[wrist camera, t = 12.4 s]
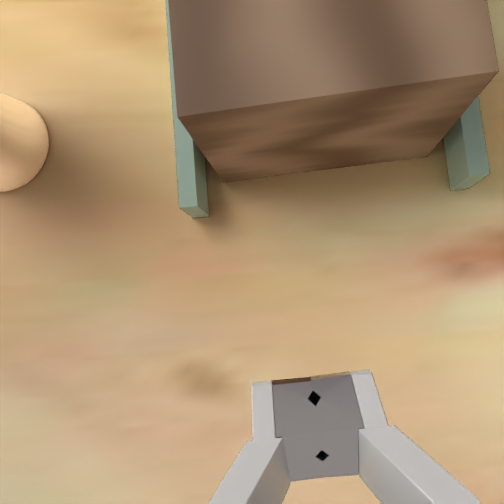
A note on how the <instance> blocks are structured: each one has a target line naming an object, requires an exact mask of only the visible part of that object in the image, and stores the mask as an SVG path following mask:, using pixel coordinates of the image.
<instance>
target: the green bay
mask: <svg viewBox="0 0 504 504" xmlns="http://www.w3.org/2000/svg"><path fill="white" fill-rule="evenodd" d="M165 1H166V16H167V31H168V46H169V61H170V77H171V92H172V107H173V122H174V137H175V152H176V167H177V183H178V198H179V208H180V209H181V210H183V211H184V212H186V213H187V214H188V215H190V216H191V217H192V218H197V217H206V216H209V208H208V195H207V181H206V168H205V156H204V154H203V153H202V151H201V150H200V149H199V147H198V146H197V144H196V143H195V141H194V140H193V139H192V137H191V136H190V134H189V133H188V131H187V130H186V129H185V127H184V126H183V124H182V123H181V121H180V120H179V119H178V117H177V108H176V95H175V82H174V69H173V56H172V43H171V31H170V18H169V5H168V0H165ZM443 141H444V148H445V155H446V162H447V169H448V177H449V184H450V190H459V189H468V188H470V187H472V186H473V185H474V184H476V183H477V182H479V181H480V180H482V179H483V178H484V177H486V176H487V175H489V174H490V171H489V164H488V158H487V151H486V144H485V138H484V131H483V124H482V118H481V111H480V104H479V98H478V96H477V98H476V99H475V100H474V101H473V102H472V104H471V105H470V106H469V107H468V108H467V110H466V111H465V112H464V113H463V114H462V116H461V117H460V118H459V119H458V120H457V122H456V123H455V124H454V125H453V126H452V128H451V129H450V130H449V131H448V132H447V134H446V135H445V136H444V137H443Z"/></svg>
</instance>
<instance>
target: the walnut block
mask: <svg viewBox="0 0 504 504" xmlns="http://www.w3.org/2000/svg"><path fill="white" fill-rule="evenodd" d="M168 5H169V18H170V31H171V43H172V56H173V69H174V82H175V95H176V108H177V117H178V119H179V120H180V121H181V123H182V124H183V126H184V127H185V129H186V130H187V131H188V133H189V134H190V136H191V137H192V139H193V140H194V141H195V143H196V144H197V146H198V147H199V149H200V150H201V151H202V153H203V154H204V156H205V157H206V159H207V160H208V161H209V163H210V164H211V166H212V167H213V169H214V170H215V171H216V173H217V174H218V176H219V177H220V179H221V180H222V181H223V182H228V181H236V180H244V179H252V178H260V177H268V176H276V175H284V174H292V173H300V172H308V171H316V170H324V169H332V168H340V167H348V166H356V165H364V164H372V163H380V162H388V161H396V160H405V159H413V158H421V157H427V156H428V155H429V154H430V153H431V151H432V150H433V149H434V148H435V147H436V145H437V144H438V143H439V142H440V141H441V139H442V138H443V137H444V136H445V135H446V134H447V132H448V131H449V130H450V129H451V128H452V126H453V125H454V124H455V123H456V122H457V120H458V119H459V118H460V117H461V116H462V114H463V113H464V112H465V111H466V110H467V108H468V107H469V106H470V105H471V104H472V102H473V101H474V100H475V99H476V98H477V96H478V95H479V94H480V93H481V92H482V90H483V89H484V88H485V87H486V86H487V84H488V83H489V82H490V81H491V80H492V78H493V77H494V76H495V75H496V74H497V72H498V71H499V70H498V64H497V58H496V52H495V46H494V40H493V34H492V28H491V22H490V16H489V10H488V4H487V0H168Z"/></svg>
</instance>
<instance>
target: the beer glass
mask: <svg viewBox="0 0 504 504" xmlns="http://www.w3.org/2000/svg"><path fill="white" fill-rule="evenodd" d="M48 148H49V135H48V130H47V127H46V125H45V122H44V121H43V119H42V117H41V116H40V115H39V114H38V112H37V111H36V110H35V109H33V108H32V107H31V106H29V105H27V104H26V103H24V102H22V101H20V100H17V99H15V98H12V97H9V96H7V95H4V94H2V93H0V192H5V191H11V190H14V189H17V188H20V187H22V186H23V185H25V184H27V183H28V182H29V181H31V180H32V179H33V178H34V177H35V176H36V175H37V173H38V172H39V171H40V169H41V168H42V166H43V164H44V162H45V160H46V157H47V153H48Z"/></svg>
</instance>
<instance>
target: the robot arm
mask: <svg viewBox="0 0 504 504" xmlns="http://www.w3.org/2000/svg"><path fill="white" fill-rule="evenodd" d="M251 396H252V432H253V440H252V441H247V442H246V443H245V445H244V447H243V448H242V450H241V452H240V453H239V455H238V456H237V458H236V460H235V461H234V463H233V464H232V466H231V468H230V469H229V471H228V472H227V474H226V476H225V477H224V479H223V480H222V482H221V484H220V485H219V487H218V488H217V490H216V492H215V493H214V495H213V496H212V498H211V500H210V501H209V503H208V504H282V502H283V500H284V497H285V495H286V493H287V490H288V488H289V486H290V482H291V481H299V480H307V479H314V478H322V477H335V476H349V475H359V477H360V478H361V479H362V480H363V482H364V483H365V484H366V485H367V487H368V488H369V489H370V490H371V491H372V493H373V494H374V495H375V496H376V497H377V499H378V500H379V501H380V502H381V503H382V504H480V502H479V500H478V498H477V497H476V496H475V495H474V494H472V493H471V492H470V491H469V490H468V489H467V488H466V487H464V486H463V485H462V484H461V483H460V482H459V481H458V480H456V479H455V478H454V477H453V476H452V475H451V474H450V473H448V472H447V471H446V470H445V469H444V468H443V467H442V466H440V465H439V464H438V463H437V462H436V461H435V460H434V459H432V458H431V457H430V456H429V455H428V454H427V453H426V452H424V451H423V450H422V449H421V448H420V447H419V446H418V445H417V444H415V443H414V442H413V441H412V440H411V439H410V438H409V437H407V436H406V435H405V434H404V433H403V432H402V431H401V430H399V429H398V428H397V427H396V426H389V425H388V422H387V419H386V416H385V412H384V409H383V406H382V403H381V400H380V397H379V393H378V390H377V387H376V384H375V381H374V378H373V375H372V372H371V371H370V370H362V371H353V372H341V373H333V374H325V375H317V376H310V377H306V378H294V379H283V380H272V381H262V382H252V387H251Z"/></svg>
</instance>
